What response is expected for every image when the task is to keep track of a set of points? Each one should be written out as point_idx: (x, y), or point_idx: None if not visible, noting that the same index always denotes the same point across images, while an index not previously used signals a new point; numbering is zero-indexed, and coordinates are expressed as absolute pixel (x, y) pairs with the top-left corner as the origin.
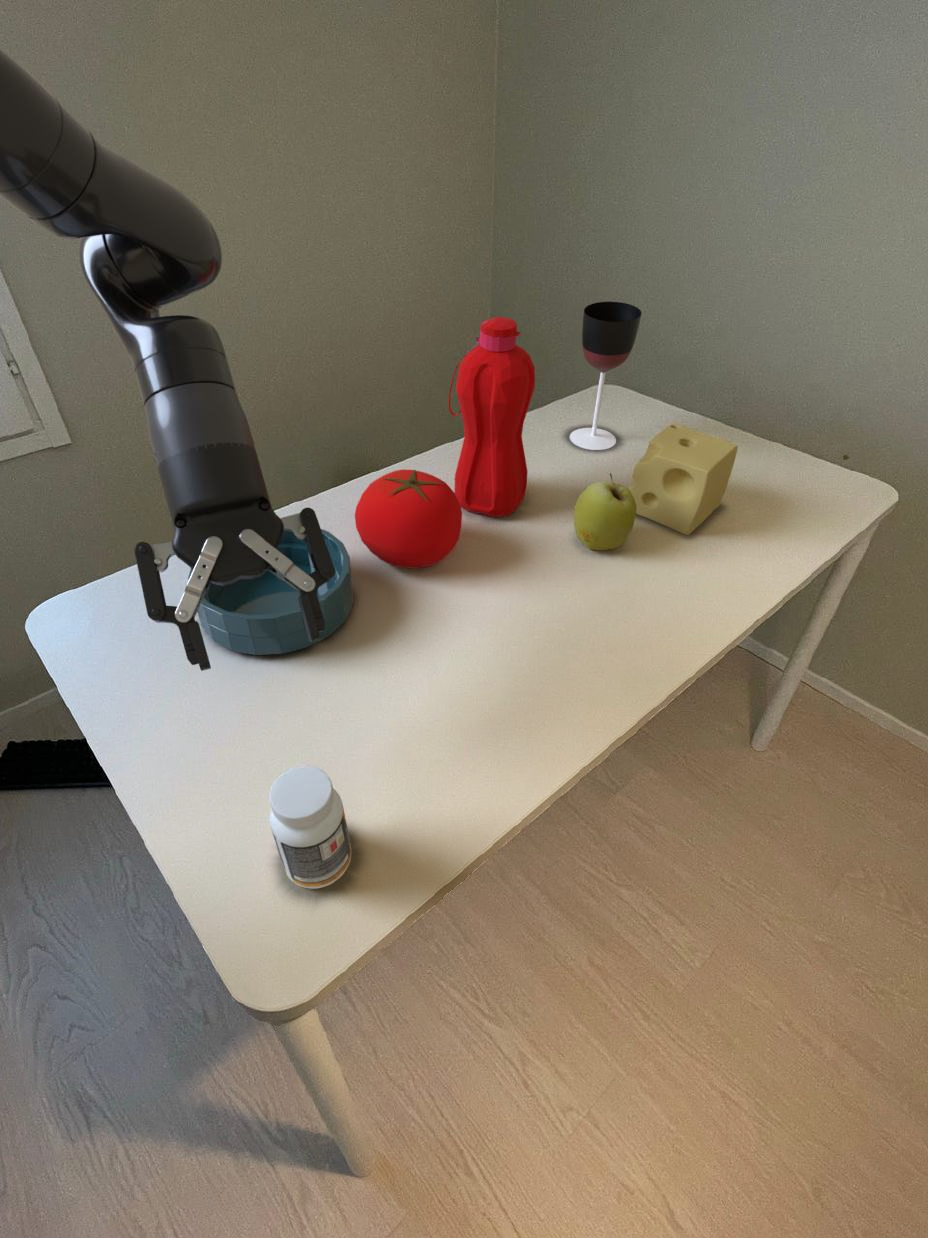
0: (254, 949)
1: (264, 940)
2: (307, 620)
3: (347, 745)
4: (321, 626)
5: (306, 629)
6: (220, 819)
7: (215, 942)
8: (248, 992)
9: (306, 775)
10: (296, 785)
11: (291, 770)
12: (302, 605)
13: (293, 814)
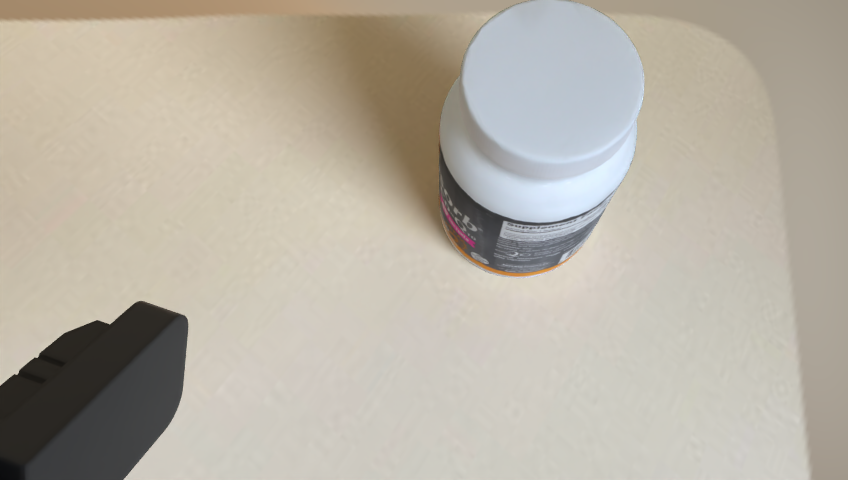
0: (717, 133)
1: (693, 135)
2: (123, 364)
3: (267, 433)
4: (92, 332)
5: (145, 442)
6: (650, 456)
7: (777, 193)
8: (759, 76)
9: (511, 107)
10: (552, 99)
11: (536, 152)
12: (69, 418)
13: (608, 27)
